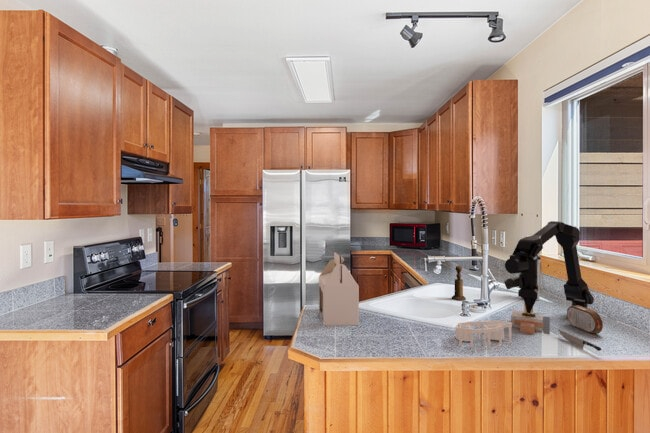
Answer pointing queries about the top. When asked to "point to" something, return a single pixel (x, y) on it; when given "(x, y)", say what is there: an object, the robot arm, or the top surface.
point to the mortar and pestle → (458, 286)
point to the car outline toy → (483, 331)
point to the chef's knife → (577, 340)
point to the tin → (584, 319)
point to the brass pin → (528, 313)
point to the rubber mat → (546, 325)
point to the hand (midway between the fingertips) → (528, 311)
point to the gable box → (338, 294)
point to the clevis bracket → (527, 322)
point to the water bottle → (539, 275)
